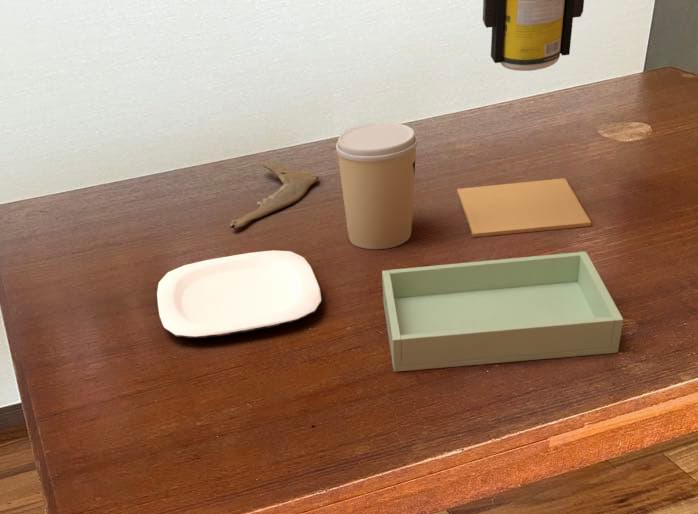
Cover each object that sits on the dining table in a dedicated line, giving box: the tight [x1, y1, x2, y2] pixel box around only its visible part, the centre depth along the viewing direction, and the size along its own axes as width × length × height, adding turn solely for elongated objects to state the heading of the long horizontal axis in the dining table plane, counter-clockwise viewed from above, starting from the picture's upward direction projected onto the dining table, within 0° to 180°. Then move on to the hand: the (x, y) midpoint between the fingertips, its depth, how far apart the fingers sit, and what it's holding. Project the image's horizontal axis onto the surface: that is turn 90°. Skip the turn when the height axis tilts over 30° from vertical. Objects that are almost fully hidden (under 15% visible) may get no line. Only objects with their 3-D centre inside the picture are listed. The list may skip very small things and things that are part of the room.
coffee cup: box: [335, 122, 418, 250], centre depth 106 cm, size 9×9×12 cm
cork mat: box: [457, 177, 592, 238], centre depth 111 cm, size 14×14×1 cm
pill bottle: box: [500, 0, 565, 72], centre depth 93 cm, size 6×6×12 cm
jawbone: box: [229, 159, 319, 230], centre depth 120 cm, size 9×20×2 cm, turn 169°
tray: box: [381, 251, 624, 373], centre depth 90 cm, size 22×15×4 cm
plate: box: [156, 249, 322, 339], centre depth 100 cm, size 18×18×2 cm
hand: (529, 55), depth 96 cm, fingers closed on pill bottle, 6 cm apart
